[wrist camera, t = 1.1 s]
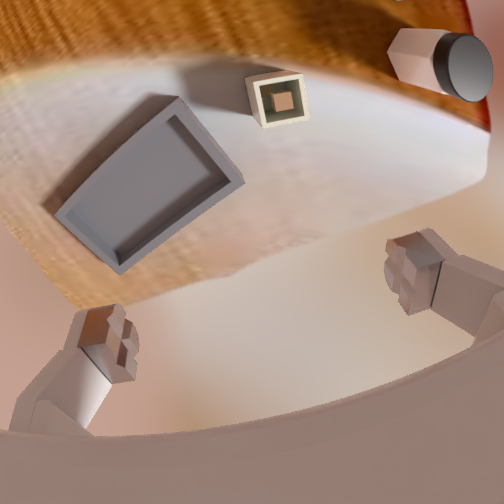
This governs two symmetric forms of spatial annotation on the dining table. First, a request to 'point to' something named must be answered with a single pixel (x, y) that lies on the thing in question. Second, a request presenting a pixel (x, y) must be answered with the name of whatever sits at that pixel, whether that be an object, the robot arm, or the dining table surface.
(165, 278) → the dining table surface
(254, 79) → the cup
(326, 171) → the dining table surface
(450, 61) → the jar
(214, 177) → the tray
